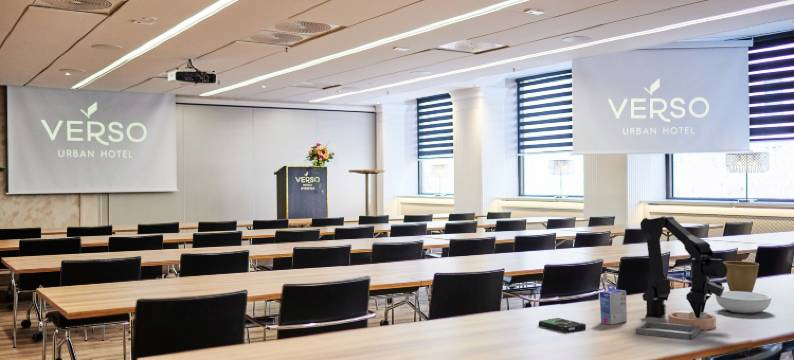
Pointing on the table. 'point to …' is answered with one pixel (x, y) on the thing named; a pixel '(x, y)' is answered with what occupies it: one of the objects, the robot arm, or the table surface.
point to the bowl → (693, 321)
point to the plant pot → (741, 275)
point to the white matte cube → (684, 314)
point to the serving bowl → (743, 301)
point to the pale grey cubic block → (701, 316)
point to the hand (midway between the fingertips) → (699, 316)
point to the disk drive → (562, 325)
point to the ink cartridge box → (613, 306)
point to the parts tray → (691, 335)
